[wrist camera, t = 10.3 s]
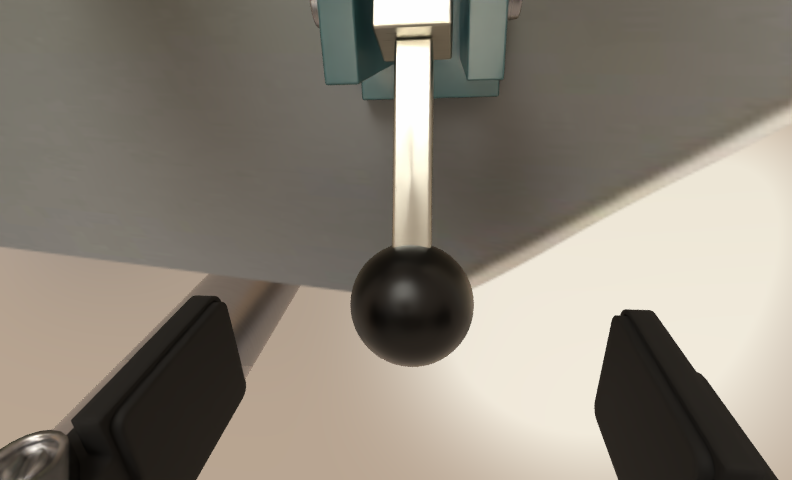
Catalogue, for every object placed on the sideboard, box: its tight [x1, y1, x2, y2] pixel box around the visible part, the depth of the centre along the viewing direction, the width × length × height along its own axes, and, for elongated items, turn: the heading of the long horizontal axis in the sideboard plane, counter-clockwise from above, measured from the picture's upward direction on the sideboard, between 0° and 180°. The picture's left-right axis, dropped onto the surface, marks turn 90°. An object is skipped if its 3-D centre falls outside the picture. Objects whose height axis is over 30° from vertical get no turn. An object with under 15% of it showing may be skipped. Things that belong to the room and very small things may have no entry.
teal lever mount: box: [310, 0, 522, 100], centre depth 17 cm, size 8×7×12 cm
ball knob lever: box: [351, 0, 474, 367], centre depth 13 cm, size 12×4×4 cm, turn 2°
